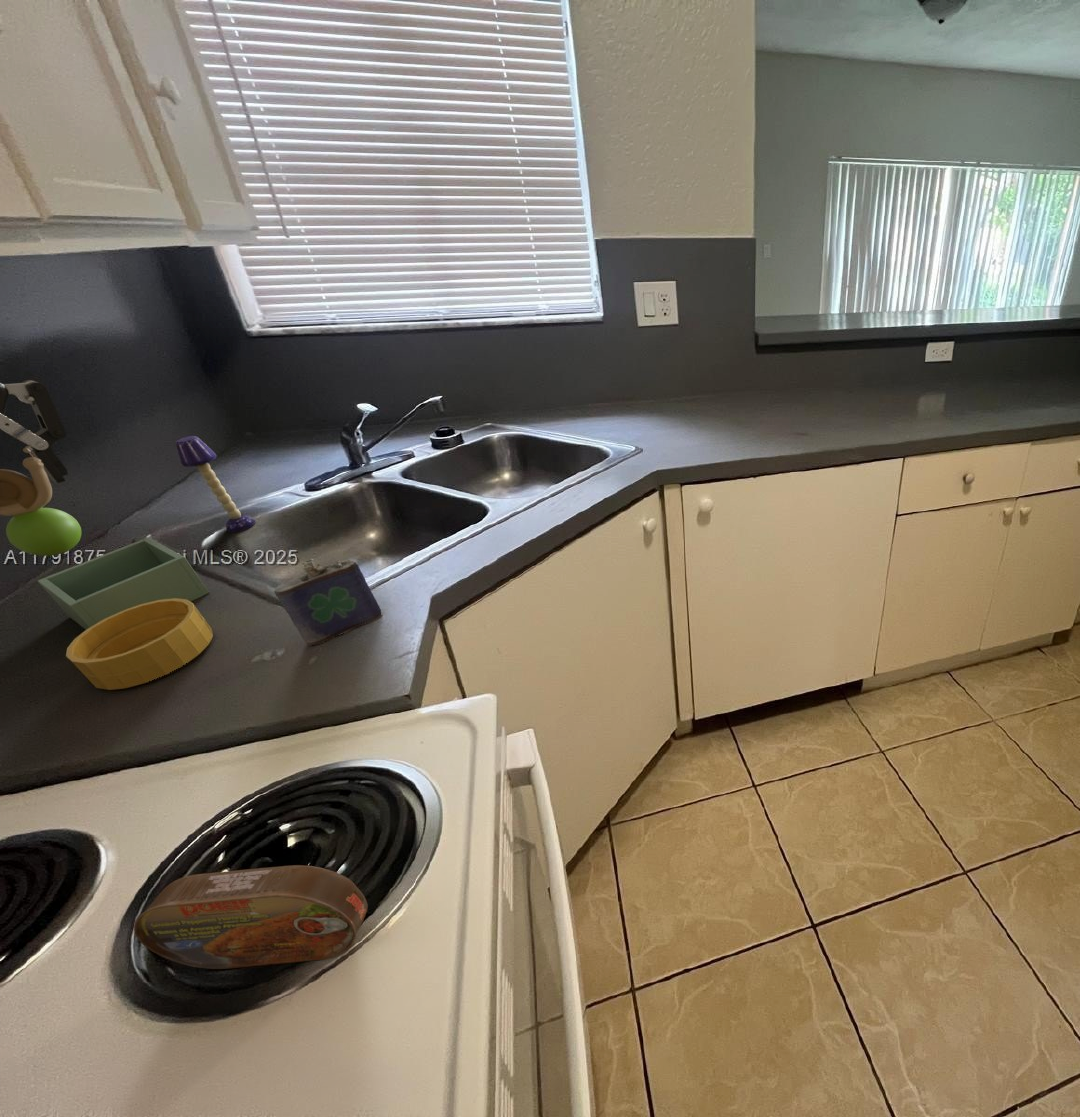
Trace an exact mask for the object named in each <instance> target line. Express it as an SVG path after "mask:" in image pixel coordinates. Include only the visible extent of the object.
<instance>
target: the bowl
mask: <svg viewBox="0 0 1080 1117" xmlns="http://www.w3.org/2000/svg"><path fill="white" fill-rule="evenodd" d="M213 638H214V633H213V629H212V627H211V626H210V624H209V623H208V622H207V620H206V619H205V618H204V616H203V614H201V612H200V611H199V609H198V608H197V607H196V605H195V604H194V603H193V602H192V601H191V602H190V601H188V600H186V599H178V598H173V599H163V600H157V601H153V602H148V603H144V604H140V605H138V606H135V607H132V608H129V609H126V610H123V611H121V612H119V613H117V614H114V615H112V616H110V617H108V618H105V619H104V620H102V621H100V622H98V623H97V624H95V625H93V626H91V627H90V628H88V629H87V630H85V629H84V631H83V632H81V633H80V634H79V635H78V636H76V637H75V638H73V640H72V641H71V642H70V644H69V645H68V647H67V648H66V654H65V657H66V658H67V659H68V660H69V661H70V662H71V663H72V665H73V666H74V667H75V668H76V669H77V670H78V671H79V672H80V673H81V674H82V675H83V676H84V677H85V678H86V679H87V681H89V683H90V684H92V686H94V687H95V688H96V689H100V690H107V691H115V690H121V689H122V690H123V689H128V688H132V687H135V686H136V687H137V686H139V685H144V684H146V683H150V682H153V681H155V680H158V679H160V678H162V676H163V677H165V676H167V675H170V674H171V673H173V672H175V671H177V670H179V669H181V668H183V667H184V666H185V665H187V664H188V663H189V662H191V661H192V660H194V659H195V658H196V657H198V656H199V655H200V654H201V653H202V652H203V651H204V650H205V649H206V648H207V647H208V646H209V645H210V643H211V641H212V639H213ZM186 663H187V664H186ZM183 665H184V666H183ZM178 668H179V669H178ZM176 669H177V670H176ZM174 670H175V671H174ZM172 671H173V672H172ZM170 672H171V673H170ZM164 675H165V676H164ZM159 677H160V678H159ZM157 678H158V679H157ZM154 679H155V680H154ZM152 680H153V681H152ZM149 681H150V682H149Z"/></svg>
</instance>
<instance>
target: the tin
mask: <svg viewBox="0 0 1080 1117" xmlns="http://www.w3.org/2000/svg"><path fill="white" fill-rule="evenodd" d="M368 908H369V905H368V902H367V898H366V897H365V895H364V894H363V892H362V891H361V890H360V888H359V887H357V886H356V884H355V883H354V882H353V881H352V880H351V879H350V878H349V877H347V876H345V875H342V874H341V873H338V872H336V871H333V870H331V869H327V868H323V867H319V866H313V865H300V864H296V865H295V864H294V865H283V866H282V865H281V866H270V867H259V868H247V869H238V870H229V871H228V870H227V871H218V872H209V873H197V874H191V875H186V876H182V877H179V878H178V879H176V880H173V881H172V882H171V883H169V884H168V885H167V886H166V887H164V888H163V889H162V890H161V892H160V893H159V894H158V895H157V896H156V897H155V899H153V901H152V902H151V904H150V905H149V906H148V907H147V908H146V910H145V911H144V912H142V913H141V914H139V915H138V916H137V918H136V919H135V921H134V924H133V931H134V934H135V937H136V938H137V939H138V940H139V941H140V943H141V944H142V946H144V947H146V948H147V949H148V950H149V951H151V952H153V953H154V954H156V955H158V956H160V957H162V958H164V959H167V960H169V961H172V962H175V963H178V964H181V965H185V966H189V967H193V968H199V969H207V970H208V969H209V970H226V969H229V970H230V969H238V968H239V969H240V968H249V967H260V966H270V965H278V964H279V965H280V964H292V963H301V962H311V961H323V960H327V959H332V958H334V957H337V956H340V955H342V954H343V953H345V952H347V951H348V950H349V949H350V948H351V947H352V946H353V944H354V943H355V941H356V939H357V938H356V937H357V934H358V932H359V930H360V927H361V926H362V924H363V922H364V919H365V918H366V914H367V912H368Z"/></svg>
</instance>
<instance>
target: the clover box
mask: <svg viewBox="0 0 1080 1117" xmlns="http://www.w3.org/2000/svg"><path fill="white" fill-rule="evenodd" d="M314 562H315V560H314V559H313V558H309V559H307V560H305V562H302V566H304V567H303V571H304V572H305V573H304V574H301V575H298V576H297V577H295V578H292V579H290V580H288V581H285V582H283V583H281V584H278V585H277V586H276V587H275V589H274V595H275V596H276V598H277V599H278V600H279V601H280V603H281V605H282V606H283V608H284V610H285V612H286V614H288V616H289V617H290V619H291V621H292V624H293V625H294V627H295V628H296V629H297V631H298V632H299V635H300V636H301V638H302V640H303V641H304V643H305V644H306V645H308V646H309V647H312V646H315V645H320V644H323V643H326V642H328V640H332V639H334V638H336V637H338V636H337V635H339V634H341V633H344V634H347V633H348V632H350V631H351V630H353V629H356V628H355V627H358V626H359V627H361V626H364V625H366V624H365V623H367V624H369V623H372V622H376V621H377V620H379V619H380V618H381V617H382V616H381V613H382V610H381V607H380V605H379V604H378V601H377V599H376V598H375V596H374V594H373V592H372V590H371V588H370V586H369V584H368V582H367V581H366V578H365V576H364V574H363V572H362V570H361V568H360V565H359V564H358V563H356V562H355V561H354V560H351V559H346V560H342V561H340V560H337V561H334V562H333V563H332V564H325V565H324V564H320V563H318V564H315V563H314ZM363 624H364V625H363ZM360 625H361V626H360ZM359 627H358V628H359ZM335 636H336V637H335ZM325 641H326V642H325Z"/></svg>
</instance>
